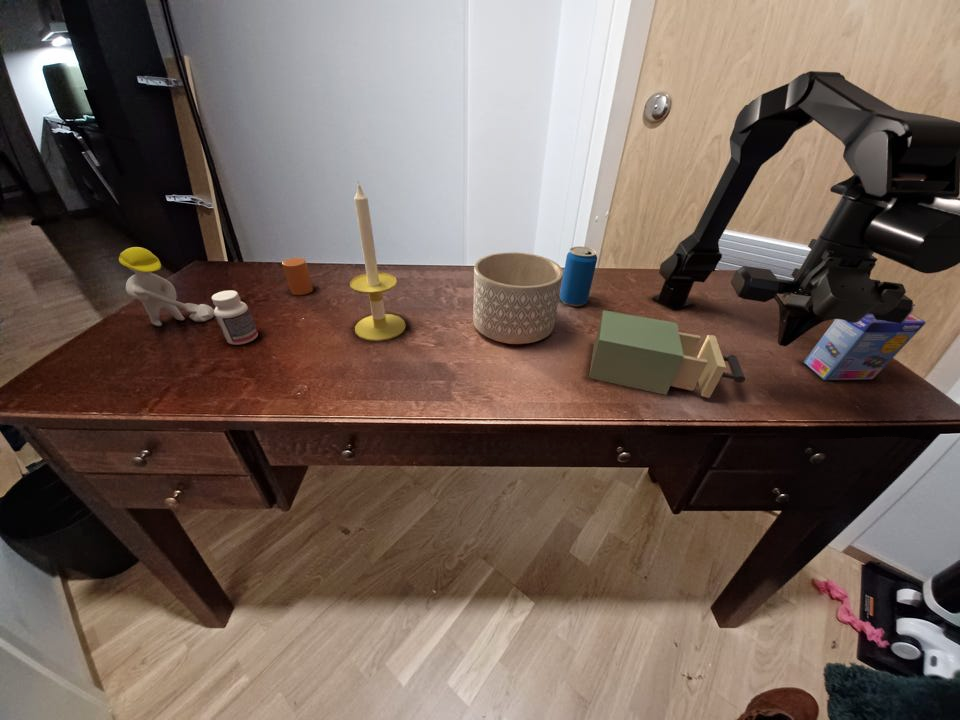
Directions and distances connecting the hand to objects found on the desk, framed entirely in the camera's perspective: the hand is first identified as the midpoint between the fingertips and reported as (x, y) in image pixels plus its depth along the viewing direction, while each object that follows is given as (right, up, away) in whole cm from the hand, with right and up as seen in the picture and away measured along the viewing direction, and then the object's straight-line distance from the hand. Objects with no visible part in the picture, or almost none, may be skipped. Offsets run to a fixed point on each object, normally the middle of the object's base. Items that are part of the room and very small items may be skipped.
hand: (781, 344), depth 54 cm
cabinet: (-19, -4, +10) cm, 22 cm away
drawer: (-11, -5, +8) cm, 14 cm away
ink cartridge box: (+20, -5, +12) cm, 23 cm away
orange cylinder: (-87, +14, +31) cm, 93 cm away
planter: (-38, +4, +21) cm, 44 cm away
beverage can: (-23, +11, +31) cm, 40 cm away
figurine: (-105, +5, +19) cm, 106 cm away
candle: (-65, +4, +19) cm, 68 cm away
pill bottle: (-90, +2, +15) cm, 91 cm away
